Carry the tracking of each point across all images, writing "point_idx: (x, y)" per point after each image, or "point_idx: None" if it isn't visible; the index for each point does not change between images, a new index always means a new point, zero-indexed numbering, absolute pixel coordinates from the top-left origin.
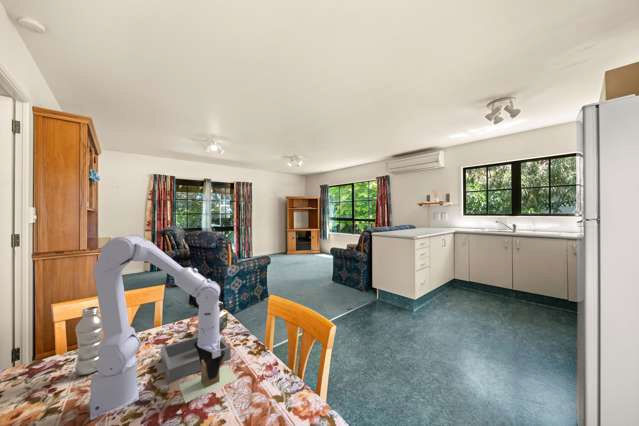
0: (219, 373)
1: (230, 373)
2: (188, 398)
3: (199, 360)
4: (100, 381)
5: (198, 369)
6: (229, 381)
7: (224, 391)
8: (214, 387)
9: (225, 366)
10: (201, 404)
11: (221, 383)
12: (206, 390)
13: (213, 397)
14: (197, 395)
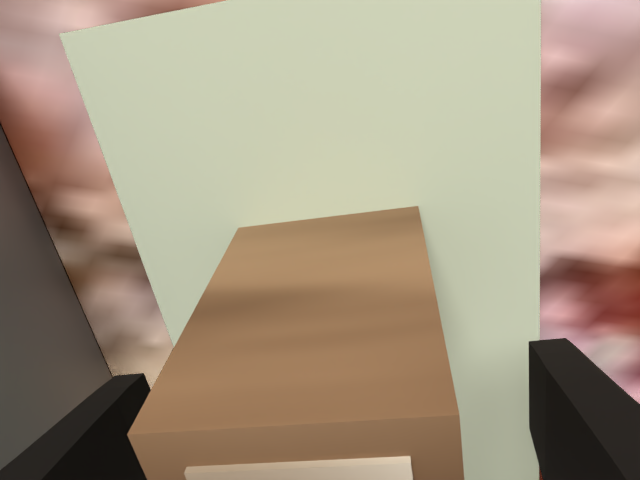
0: (428, 258)
1: (321, 31)
2: (492, 477)
3: (8, 461)
4: None
5: (79, 385)
6: (507, 83)
7: (613, 167)
8: (499, 274)
9: (96, 69)
10: (629, 389)
11: (479, 191)
12: (488, 348)
13: (618, 288)
14: (509, 421)
